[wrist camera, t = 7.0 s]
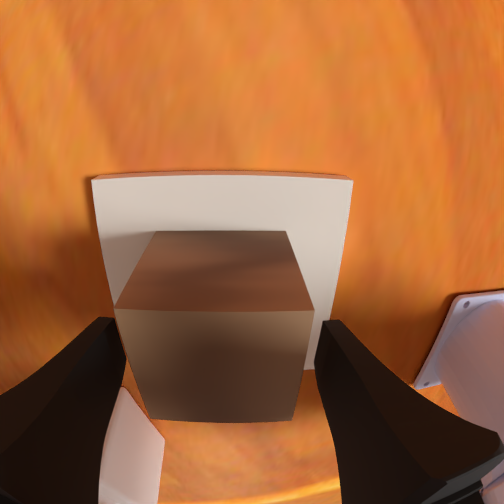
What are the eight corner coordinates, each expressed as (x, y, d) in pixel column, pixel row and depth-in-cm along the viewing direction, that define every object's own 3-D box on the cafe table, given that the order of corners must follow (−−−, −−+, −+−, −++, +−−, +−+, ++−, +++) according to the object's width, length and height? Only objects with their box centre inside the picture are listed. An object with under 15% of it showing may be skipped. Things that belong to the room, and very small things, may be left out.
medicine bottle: (47, 383, 17) (-4, 518, 6) (125, 384, 17) (86, 560, 6) (93, 435, 20) (67, 551, 10) (166, 438, 20) (153, 575, 9)
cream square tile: (346, 175, 12) (353, 180, 11) (314, 358, 16) (317, 368, 15) (99, 175, 11) (91, 180, 10) (135, 356, 16) (131, 366, 15)
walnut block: (285, 230, 12) (314, 310, 7) (276, 330, 14) (292, 420, 10) (156, 230, 12) (113, 308, 7) (169, 330, 14) (150, 418, 9)
